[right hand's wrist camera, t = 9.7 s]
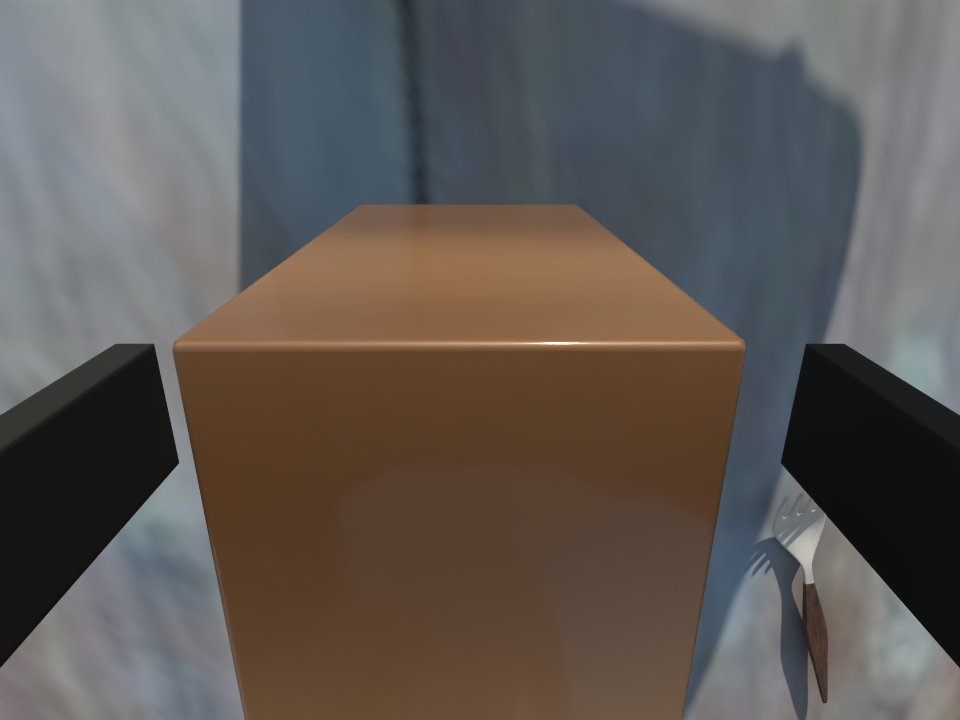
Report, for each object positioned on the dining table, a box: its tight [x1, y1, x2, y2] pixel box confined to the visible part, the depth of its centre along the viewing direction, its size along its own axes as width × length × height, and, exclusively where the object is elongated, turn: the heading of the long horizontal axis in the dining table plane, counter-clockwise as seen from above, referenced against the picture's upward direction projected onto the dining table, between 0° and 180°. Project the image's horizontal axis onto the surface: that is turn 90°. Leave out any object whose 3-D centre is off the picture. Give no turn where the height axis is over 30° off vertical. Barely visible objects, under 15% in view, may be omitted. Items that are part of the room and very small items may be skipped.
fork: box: [773, 492, 828, 703], centre depth 32 cm, size 3×16×2 cm, turn 16°
